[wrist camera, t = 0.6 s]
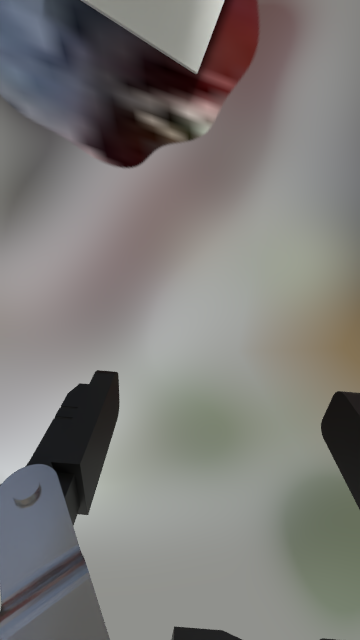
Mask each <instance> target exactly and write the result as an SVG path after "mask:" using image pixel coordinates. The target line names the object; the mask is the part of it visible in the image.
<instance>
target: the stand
mask: <svg viewBox="0 0 360 640" xmlns="http://www.w3.org/2000/svg"><path fill="white" fill-rule="evenodd" d="M81 1H82V2H84V3H86V4H87V5H89V6H90V7H92V8H93V9H95V10H96V11H98V12H100V13H101V14H103V15H104V16H106V17H107V18H109V19H110V20H112V21H114V22H115V23H117V24H118V25H120V26H121V27H123V28H124V29H126V30H127V31H129V32H131V33H132V34H134V35H135V36H137V37H138V38H140V39H141V40H143V41H145V42H146V43H148V44H149V45H151V46H152V47H154V48H155V49H157V50H159V51H160V52H162V53H163V54H165V55H166V56H168V57H169V58H171V59H173V60H174V61H176V62H177V63H179V64H180V65H182V66H183V67H185V68H187V69H188V70H190V71H191V72H193V73H194V74H197V73H198V70H199V68H200V65H201V62H202V60H203V57H204V54H205V51H206V49H207V46H208V43H209V41H210V38H211V35H212V33H213V30H214V27H215V25H216V22H217V19H218V17H219V14H220V11H221V9H222V6H223V3H224V1H225V0H81Z"/></svg>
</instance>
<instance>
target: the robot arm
mask: <svg viewBox="0 0 360 640" xmlns="http://www.w3.org/2000/svg"><path fill="white" fill-rule="evenodd" d="M118 412H119V380H118V373H117V372H110V371H98V370H97V371H96V372H95V374H94V376H93V378H92V380H91V382H90V384H79V385H78V386H77V387H75V388H74V389H73V390H72V391H70V392H69V393H68V394H67V396H66V398H65V400H64V401H63V403H62V405H61V408H59V410H58V412H57V414H56V416H55V419H53V421H52V423H51V424H50V426H49V428H48V430H47V431H46V433H45V435H44V437H43V438H42V440H41V442H40V444H39V445H38V447H37V449H36V451H35V452H34V454H33V456H32V458H31V459H30V461H29V463H28V464H27V465H26V466H25V467H24V468H21V469H19V470H17V471H16V472H14V473H13V474H12V475H10V476H9V477H8V478H7V479H6V480H5V481H4V482H3V483H2V484H1V485H0V589H1V611H0V640H110V638H109V635H108V632H107V629H106V626H105V622H104V619H103V616H102V613H101V610H100V606H99V604H98V600H97V597H96V594H95V591H94V587H93V584H92V581H91V578H90V575H89V571H88V569H87V565H86V562H85V560H84V557H83V556H82V553H81V550H80V547H79V544H78V541H77V537H76V535H75V531H74V528H73V525H74V522H75V519H76V516H77V514H83V515H88V513H89V510H90V507H91V503H92V500H93V497H94V494H95V490H96V487H97V484H98V481H99V477H100V474H101V471H102V467H103V464H104V461H105V458H106V454H107V451H108V447H109V444H110V441H111V438H112V435H113V431H114V428H115V425H116V421H117V418H118ZM321 431H322V435H323V438H324V440H325V442H326V444H327V446H328V448H329V450H330V452H331V454H332V456H333V458H334V460H335V462H336V464H337V466H338V468H339V469H340V472H341V474H342V476H343V478H344V479H345V482H346V483H347V486H348V487H349V489H350V491H351V493H352V495H353V497H354V499H355V501H356V503H357V505H358V507H359V509H360V393H352V392H340V391H338V392H336V393H335V394H334V395H333V397H332V400H331V402H330V404H329V406H328V409H327V410H326V413H325V415H324V417H323V419H322V423H321ZM172 640H242V639H240V638H238V637H235V636H233V635H231V634H229V633H227V632H224V631H222V630H210V629H197V628H184V627H174V630H173V635H172ZM320 640H334V639H320Z"/></svg>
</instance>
